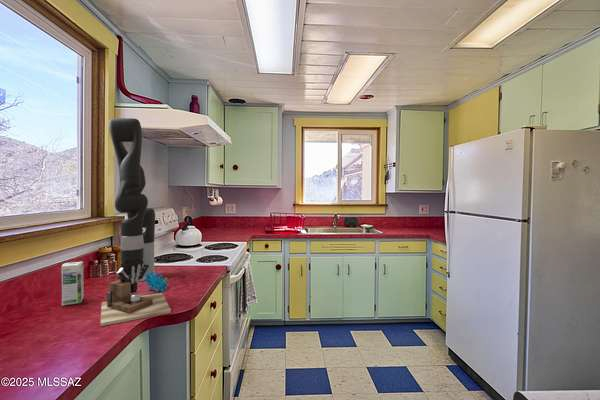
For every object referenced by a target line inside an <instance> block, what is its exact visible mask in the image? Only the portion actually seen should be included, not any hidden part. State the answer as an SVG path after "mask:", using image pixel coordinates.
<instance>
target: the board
mask: <svg viewBox="0 0 600 400" xmlns="http://www.w3.org/2000/svg"><path fill="white" fill-rule="evenodd" d="M140 297H145V298H149V299H153V304H152V305H150V306H147V307H144V308H142V309H139V310H137V311H134V312H132V313H125V312H121V311H117V310H114V309H111V307H107V301H103V302H101V308H100V309H101V310H100V327H104V326H109V325H115V324H120V323H125V322H131V321H135V320H140V319H146V318H151V317H156V316H161V315H165V314H167V315H168V314H171V313H172V309H171V308H170V307H171V306H170V305H169V304H168V302H167V300H166V298H165V296H164V294H163V292H160V293H158V292H157V293H151V294H147V295H140Z"/></svg>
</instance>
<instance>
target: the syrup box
mask: <svg viewBox="0 0 600 400" xmlns="http://www.w3.org/2000/svg"><path fill="white" fill-rule="evenodd" d="M83 300H84V261H78V262H77V261H75V262H74V261H73V262H65V263H63V264H62V265H61V306H68V305H75V304H82V301H83Z"/></svg>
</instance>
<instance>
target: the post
mask: <svg viewBox="0 0 600 400" xmlns="http://www.w3.org/2000/svg"><path fill="white" fill-rule="evenodd" d="M140 296H141V293H137V292H135V293H131V295H130V305H131V304H134V303H137V302H140Z"/></svg>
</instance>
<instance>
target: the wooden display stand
mask: <svg viewBox="0 0 600 400" xmlns="http://www.w3.org/2000/svg"><path fill="white" fill-rule="evenodd" d="M108 288H109V290H108V292H109V291H112V304H111V309H114V310H117V311H121V312H125V313H132V312H134V311H137V310H139V309H142V308H144V307H147V306H150V305H152V304H153V299H149V298H145V297H140V302H137V303H134V304H131V305H130V295H131V294H132V293H131V283H130V282H125V281H121V280H120V279H118V280H114V281H110V282H109V283H108Z"/></svg>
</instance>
